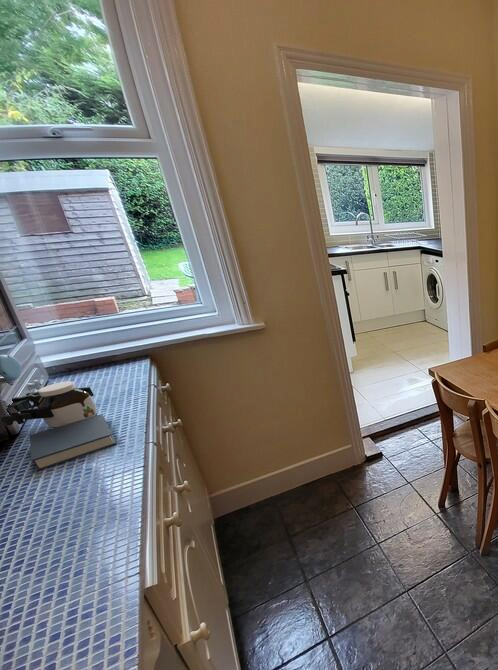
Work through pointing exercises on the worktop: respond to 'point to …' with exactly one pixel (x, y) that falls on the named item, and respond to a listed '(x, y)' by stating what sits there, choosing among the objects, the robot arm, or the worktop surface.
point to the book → (70, 441)
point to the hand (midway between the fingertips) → (71, 401)
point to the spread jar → (66, 404)
